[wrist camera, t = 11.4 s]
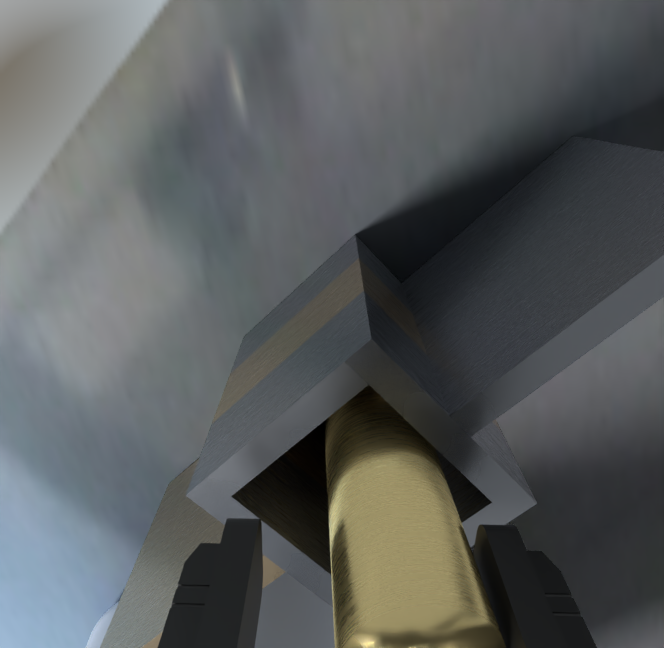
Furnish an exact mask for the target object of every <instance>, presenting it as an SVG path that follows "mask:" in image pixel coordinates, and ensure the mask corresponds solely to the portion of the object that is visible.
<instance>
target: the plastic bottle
mask: <svg viewBox="0 0 664 648" xmlns="http://www.w3.org/2000/svg"><path fill="white" fill-rule="evenodd" d="M118 603H119V602H117V603H116V604H115V605H113V606H112V607H111V608H110V609H109V610H108V611H107V612H106V613H105V614H104V615H103V616H102V617H101V618H100V620H99V621H98V622H97V624H96V626H95V627H94V629H93V631H92V633H91V635H90V638H89V641H88V643H87V646H86V648H100V646H101V644H102V641H103V639H104V636H105V634H106V632H107V629H108V627H109V625H110V622H111V620H112V618H113V615H114V613H115V610H116V608H117V606H118ZM254 648H335V642H334V620H333V607H331V606H330V605H329V604H327V603H326V602H325V601H323V600H322V599H321V598H319V597H318V596H317V595H316V594H314V593H313V592H312V591H310V590H309V589H308V588H306V587H305V586H304V585H302V584H301V583H300V582H298V581H297V580H296V579H294V578H293V577H292V576H291V575H289V574H288V573H287V572H285V573H284V574H282V575H281V576H280V577H278V578H277V579H275V580H274V581H273V582H271V583H270V584H269V585H267V586H266V587H264V588H263V589H262V598H261V605H260V612H259V619H258V626H257V633H256V640H255V647H254Z"/></svg>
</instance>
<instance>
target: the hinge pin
mask: <svg viewBox="0 0 664 648" xmlns="http://www.w3.org/2000/svg"><path fill="white" fill-rule="evenodd" d="M324 431H325V452H326V473H327V494H328V515H329V536H330V557H331V578H332V599H333V620H334V642H335V648H506V647H505V643H504V640H503V637H502V635H501V632H500V629H499V626H498V623H497V621H496V618H495V615H494V612H493V609H492V607H491V604H490V601H489V598H488V595H487V593H486V590H485V587H484V584H483V581H482V579H481V576H480V573H479V570H478V567H477V565H476V562H475V559H474V556H473V553H472V551H471V548H470V545H469V542H468V539H467V537H466V534H465V531H464V528H463V525H462V523H461V520H460V517H459V514H458V511H457V509H456V506H455V503H454V500H453V497H452V495H451V492H450V489H449V486H448V483H447V481H446V478H445V475H444V472H443V469H442V467H441V464H440V461H439V458H438V455H437V453H436V450H435V447H434V446H433V445H431V444H430V443H429V442H428V441H427V440H426V439H425V438H424V437H423V436H422V435H421V434H420V433H419V432H418V431H417V430H416V429H415V428H414V427H413V426H412V425H410V424H409V423H408V422H407V421H406V420H405V419H404V418H403V417H402V416H401V415H400V414H399V413H398V412H397V411H396V410H395V409H394V408H393V407H392V406H391V405H389V404H388V403H387V402H386V401H385V400H384V399H383V398H382V397H381V396H380V395H379V394H378V393H377V392H376V391H375V390H374V389H373V388H372V387H371V386H370V385H368V386H366V387H365V388H364V389H363V390H362V391H360V392H359V393H358V394H357V395H355V396H354V397H353V398H352V399H350V400H349V401H348V402H347V403H346V404H344V405H343V406H342V407H341V408H339V409H338V410H337V411H336V412H334V413H333V414H332V415H331V416H330V417H328V418H327V419H326V420H325V421H324Z"/></svg>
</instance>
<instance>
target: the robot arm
mask: <svg viewBox="0 0 664 648" xmlns="http://www.w3.org/2000/svg"><path fill="white" fill-rule="evenodd" d="M473 556H474V559H475V562H476V565H477V567H478V570H479V573H480V576H481V579H482V581H483V584H484V587H485V590H486V593H487V595H488V598H489V601H490V604H491V607H492V609H493V612H494V615H495V618H496V621H497V623H498V626H499V629H500V632H501V635H502V637H503V640H504V643H505V647H506V648H597V647H596V645H595V643H594V641H593V639H592V637H591V635H590V632H589V630H588V628H587V626H586V624H585V622H584V620H583V618H582V617H580V611H579V609H578V607H577V605H576V603H575V601H574V599H573V598H571V592H570V590H569V588H568V586H567V584H566V582H565V580H564V578H563V576H562V574H561V571H560V570H559V569H558V568H557V567H556V566H555V565H554V564H553V563H552V562H551V561H550V560H549V559H548V558H547V557H546V556H545V555H544V553H543V552H542V551H527V550H526V548H525V546H524V543H523V541H522V539H521V536H520V534H519V532H518V530H517V528H516V527H515V526H514V525H483V524H481V525H479V526H478V529H477V533H476V539H475V545H474V551H473ZM262 586H263V552H262V523H261V519H245V518H228V519H227V520H226V523H225V526H224V530H223V534H222V538H221V542H220V543H200V544H199V546H198V547H197V548H196V549H195V550H194V552H193V553H192V554H191V555H190V556H189V558H188V559H187V560H186V561H185V563H184V566H183V569H182V572H181V576H180V579H179V582H178V587H177V589H176V591H175V594H174V598H173V601H172V606H171V608H170V610H169V613H168V616H167V620H166V623H165V626H164V629H163V632H162V635H161V638H160V642H159V645H158V648H254V647H255V640H256V633H257V626H258V619H259V612H260V605H261V598H262Z"/></svg>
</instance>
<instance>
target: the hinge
mask: <svg viewBox="0 0 664 648" xmlns="http://www.w3.org/2000/svg"><path fill="white" fill-rule="evenodd" d="M662 297H664V152H662V151H656V150H650V149H645V148H639V147H633V146H627V145H622V144H616V143H610V142H605V141H599V140H593V139H588V138H582V137H576V136H572V137H571V138H570V139H569V140H568V141H567V142H565V143H564V144H563V145H562V146H561V147H560V148H559V149H557V150H556V151H555V152H554V153H553V154H552V155H550V156H549V157H548V158H547V159H546V160H545V161H543V162H542V163H541V164H540V165H539V166H538V167H536V168H535V169H534V170H533V171H532V172H531V173H529V174H528V175H527V176H526V177H525V178H524V179H522V180H521V181H520V182H519V183H518V184H517V185H516V186H514V187H513V188H512V189H511V190H510V191H509V192H507V193H506V194H505V195H504V196H503V197H502V198H500V199H499V200H498V201H497V202H496V203H495V204H493V205H492V206H491V207H490V208H489V209H488V210H486V211H485V212H484V213H483V214H482V215H481V216H480V217H478V218H477V219H476V220H475V221H474V222H473V223H471V224H470V225H469V226H468V227H467V228H466V229H464V230H463V231H462V232H461V233H460V234H459V235H457V236H456V237H455V238H454V239H453V240H452V241H450V242H449V243H448V244H447V245H446V246H445V247H444V248H442V249H441V250H440V251H439V252H438V253H437V254H435V255H434V256H433V257H432V258H431V259H430V260H428V261H427V262H426V263H425V264H424V265H423V266H421V267H420V268H419V269H418V270H417V271H416V272H414V273H413V274H412V275H411V276H410V277H409V278H407V279H406V280H405V281H404V282H403V283H402V284H401V282H400V281H399V280H398V279H397V278H396V277H395V276H394V275H393V274H392V273H391V272H390V271H389V270H388V269H387V268H386V267H385V266H384V265H383V263H382V262H381V261H380V260H379V259H378V258H377V257H376V256H375V255H374V254H373V253H372V252H371V251H370V250H369V249H368V248H367V247H366V245H365V244H364V243H363V242H362V241H361V240H360V239H359V238H358V237H357V236H356V235H354V236H353V237H352V238H351V239H350V240H349V241H348V242H347V243H345V244H344V245H343V246H342V247H341V248H340V249H339V250H338V251H337V252H336V253H335V254H333V255H332V256H331V257H330V258H329V259H328V260H327V261H326V262H325V263H324V264H323V265H322V266H320V267H319V268H318V269H317V270H316V271H315V272H314V273H313V274H312V275H311V276H310V277H308V278H307V279H306V280H305V281H304V282H303V283H302V284H301V285H300V286H299V287H298V288H297V289H295V290H294V291H293V292H292V293H291V294H290V295H289V296H288V297H287V298H286V299H285V300H283V301H282V302H281V303H280V304H279V305H278V306H277V307H276V308H275V309H274V310H273V311H272V312H270V313H269V314H268V315H267V316H266V317H265V318H264V319H263V320H262V321H261V322H260V323H258V324H257V325H256V326H255V327H254V328H253V329H252V330H251V331H250V332H249V333H248V334H247V335H245V336H244V338H243V341H242V343H241V346H240V349H239V351H238V354H237V357H236V360H235V362H234V365H233V368H232V370H231V373H230V376H229V379H228V381H227V384H226V387H225V389H224V392H223V395H222V398H221V400H220V403H219V406H218V408H217V411H216V414H215V417H214V419H213V422H212V425H211V428H210V430H209V433H208V436H207V438H206V441H205V444H204V447H203V449H202V452H201V455H200V457H199V458H198V459H197V460H196V461H195V462H194V463H193V464H191V465H190V466H189V467H188V468H187V469H186V470H184V471H183V472H182V473H181V474H180V475H179V476H177V477H176V478H175V479H174V480H173V481H172V482H171V483H169V485H168V487H167V489H166V492H165V494H164V497H163V499H162V501H161V504H160V506H159V508H158V511H157V513H156V516H155V518H154V520H153V523H152V525H151V527H150V530H149V532H148V535H147V537H146V539H145V542H144V544H143V546H142V549H141V551H140V553H139V556H138V558H137V561H136V563H135V565H134V568H133V570H132V572H131V575H130V577H129V580H128V582H127V584H126V587H125V589H124V591H123V594H122V596H121V599H120V601H119V603H118V606H117V608H116V610H115V613H114V615H113V618H112V620H111V622H110V625H109V627H108V629H107V632H106V634H105V636H104V639H103V641H102V644H101V646H100V648H158V645H159V642H160V638H161V635H162V632H163V629H164V626H165V623H166V620H167V616H168V613H169V610H170V608H171V606H172V601H173V598H174V594H175V591H176V589H177V587H178V582H179V579H180V576H181V572H182V569H183V566H184V563H185V561H186V560H187V559H188V558H189V556H190V555H191V554H192V553H193V552H194V550H195V549H196V548H197V547H198V546H199V544H200V543H220V542H221V538H222V534H223V530H224V526H225V523H226V520H227V519H228V518H245V519H261V523H262V552H263V586H262V589H263V588H264V587H266V586H267V585H269V584H270V583H271V582H273V581H274V580H275V579H277V578H278V577H280V576H281V575H282V574H284V573H285V572H287V573H288V574H289V575H291V576H292V577H293V578H294V579H296V580H297V581H298V582H300V583H301V584H302V585H304V586H305V587H306V588H308V589H309V590H310V591H312V592H313V593H314V594H316V595H317V596H318V597H319V598H321V599H322V600H323V601H325V602H326V603H327V604H329V605H330V606H331V607H333V599H332V578H331V557H330V536H329V515H328V494H327V473H326V452H325V431H324V421H325V420H326V419H327V418H328V417H330V416H331V415H332V414H333V413H334V412H336V411H337V410H338V409H339V408H341V407H342V406H343V405H344V404H346V403H347V402H348V401H349V400H350V399H352V398H353V397H354V396H355V395H357V394H358V393H359V392H360V391H362V390H363V389H364V388H365V387H366V386H368V385H370V386H371V387H372V388H373V389H374V390H375V391H376V392H377V393H378V394H379V395H380V396H381V397H382V398H383V399H384V400H385V401H386V402H387V403H388V404H389V405H391V406H392V407H393V408H394V409H395V410H396V411H397V412H398V413H399V414H400V415H401V416H402V417H403V418H404V419H405V420H406V421H407V422H408V423H409V424H410V425H412V426H413V427H414V428H415V429H416V430H417V431H418V432H419V433H420V434H421V435H422V436H423V437H424V438H425V439H426V440H427V441H428V442H429V443H430V444H431V445H433V446H434V447H435V450H436V453H437V455H438V458H439V461H440V464H441V467H442V469H443V472H444V475H445V478H446V481H447V483H448V486H449V489H450V492H451V495H452V497H453V500H454V503H455V506H456V509H457V511H458V514H459V517H460V520H461V523H462V525H463V528H464V531H465V534H466V537H467V539H468V542H469V545H470V548H471V547H472V546H474V545H475V539H476V533H477V529H478V526H479V525H481V524H483V525H505V524H507V523H508V522H510V521H511V520H513V519H514V518H516V517H517V516H519V515H521V514H522V513H524V512H525V511H527V510H528V509H530V508H531V507H533V506H534V505H536V504H537V502H536V500H535V498H534V496H533V494H532V492H531V489H530V487H529V485H528V483H527V481H526V479H525V477H524V475H523V473H522V471H521V469H520V467H519V465H518V463H517V461H516V459H515V457H514V455H513V453H512V451H511V449H510V447H509V445H508V443H507V441H506V439H505V437H504V435H503V433H502V431H501V429H500V427H499V425H498V423H497V421H496V418H498V417H499V416H500V415H502V414H503V413H505V412H506V411H507V410H509V409H510V408H511V407H513V406H514V405H516V404H517V403H518V402H520V401H521V400H522V399H524V398H525V397H527V396H528V395H529V394H531V393H532V392H533V391H535V390H536V389H538V388H539V387H540V386H542V385H543V384H544V383H546V382H547V381H548V380H550V379H551V378H553V377H554V376H555V375H557V374H558V373H559V372H561V371H562V370H564V369H565V368H566V367H568V366H569V365H570V364H572V363H573V362H575V361H576V360H577V359H579V358H580V357H581V356H583V355H584V354H586V353H587V352H588V351H590V350H591V349H592V348H594V347H595V346H597V345H598V344H599V343H601V342H602V341H603V340H605V339H606V338H607V337H609V336H610V335H612V334H613V333H614V332H616V331H617V330H618V329H620V328H621V327H623V326H624V325H625V324H627V323H628V322H629V321H631V320H632V319H634V318H635V317H636V316H638V315H639V314H640V313H642V312H643V311H645V310H646V309H647V308H649V307H650V306H651V305H653V304H654V303H656V302H657V301H658V300H660V299H661V298H662Z"/></svg>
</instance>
